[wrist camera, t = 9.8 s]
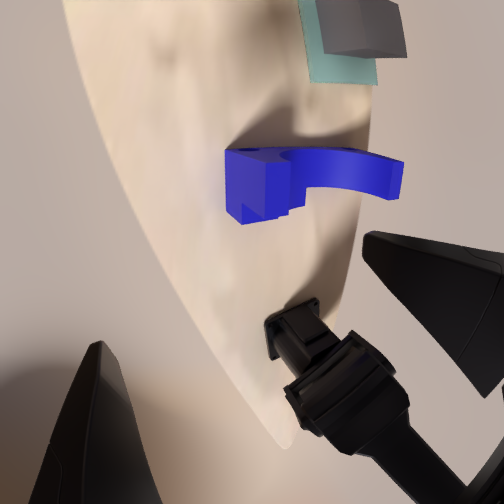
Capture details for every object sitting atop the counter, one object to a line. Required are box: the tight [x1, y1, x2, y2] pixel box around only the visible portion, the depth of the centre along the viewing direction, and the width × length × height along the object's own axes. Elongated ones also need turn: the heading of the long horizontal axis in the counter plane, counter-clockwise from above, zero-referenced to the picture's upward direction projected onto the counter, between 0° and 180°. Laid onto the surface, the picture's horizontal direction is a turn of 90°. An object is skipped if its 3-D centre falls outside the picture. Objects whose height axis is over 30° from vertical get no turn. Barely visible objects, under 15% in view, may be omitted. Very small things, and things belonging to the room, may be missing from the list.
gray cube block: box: [315, 0, 407, 59], centre depth 14 cm, size 5×5×4 cm
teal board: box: [298, 0, 378, 85], centre depth 16 cm, size 10×8×1 cm
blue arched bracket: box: [225, 147, 404, 225], centre depth 19 cm, size 12×4×6 cm, turn 89°
